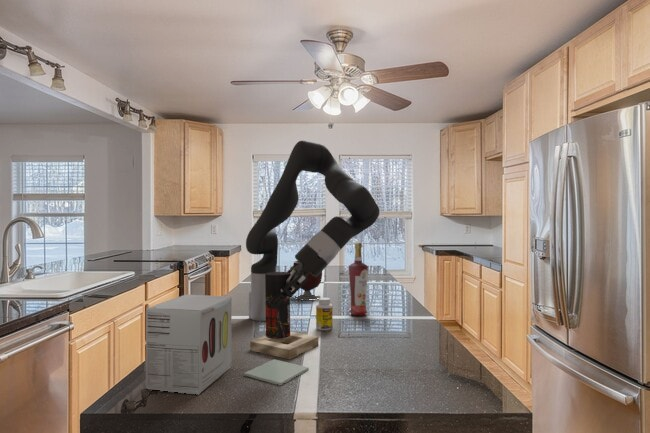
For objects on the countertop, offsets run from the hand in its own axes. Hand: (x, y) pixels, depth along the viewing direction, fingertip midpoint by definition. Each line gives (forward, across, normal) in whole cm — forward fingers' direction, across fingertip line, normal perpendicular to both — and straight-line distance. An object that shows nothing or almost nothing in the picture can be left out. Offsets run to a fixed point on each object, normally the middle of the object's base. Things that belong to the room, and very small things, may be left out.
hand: (270, 303), depth 98 cm
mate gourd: (-6, -88, +30) cm, 93 cm away
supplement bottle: (-3, -35, +27) cm, 45 cm away
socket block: (+8, -18, +16) cm, 26 cm away
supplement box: (+25, -1, -1) cm, 25 cm away
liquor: (-15, -51, +39) cm, 66 cm away
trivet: (+11, 0, +13) cm, 17 cm away
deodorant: (+4, 0, +7) cm, 8 cm away
